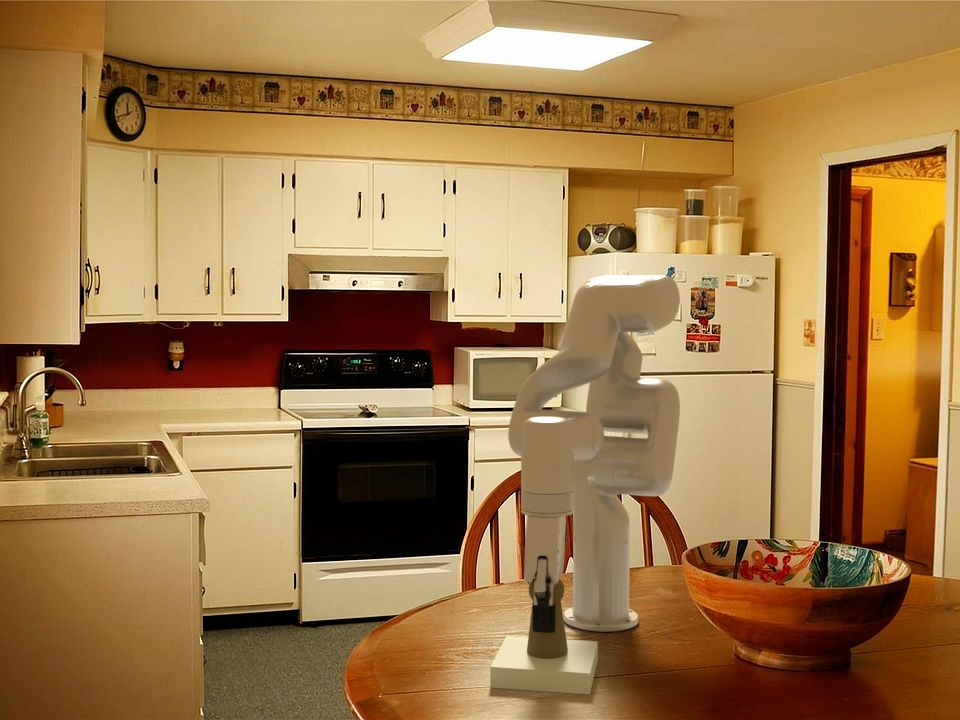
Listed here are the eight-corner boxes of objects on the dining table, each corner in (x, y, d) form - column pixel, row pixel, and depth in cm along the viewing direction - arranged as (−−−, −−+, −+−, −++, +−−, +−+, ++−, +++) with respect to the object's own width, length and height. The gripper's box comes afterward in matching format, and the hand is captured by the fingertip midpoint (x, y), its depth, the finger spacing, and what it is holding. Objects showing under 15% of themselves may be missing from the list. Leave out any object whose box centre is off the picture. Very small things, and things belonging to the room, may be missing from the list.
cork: (565, 641, 159) (565, 570, 158) (570, 658, 153) (569, 584, 152) (525, 642, 159) (524, 571, 158) (528, 659, 153) (526, 585, 152)
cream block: (506, 655, 164) (506, 635, 164) (597, 660, 161) (597, 641, 161) (490, 687, 150) (490, 666, 150) (589, 694, 148) (589, 673, 147)
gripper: (529, 490, 163) (529, 607, 164) (512, 513, 147) (512, 643, 148) (578, 492, 162) (577, 610, 163) (566, 515, 145) (566, 646, 146)
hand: (546, 624), depth 155 cm, fingers open, 5 cm apart
